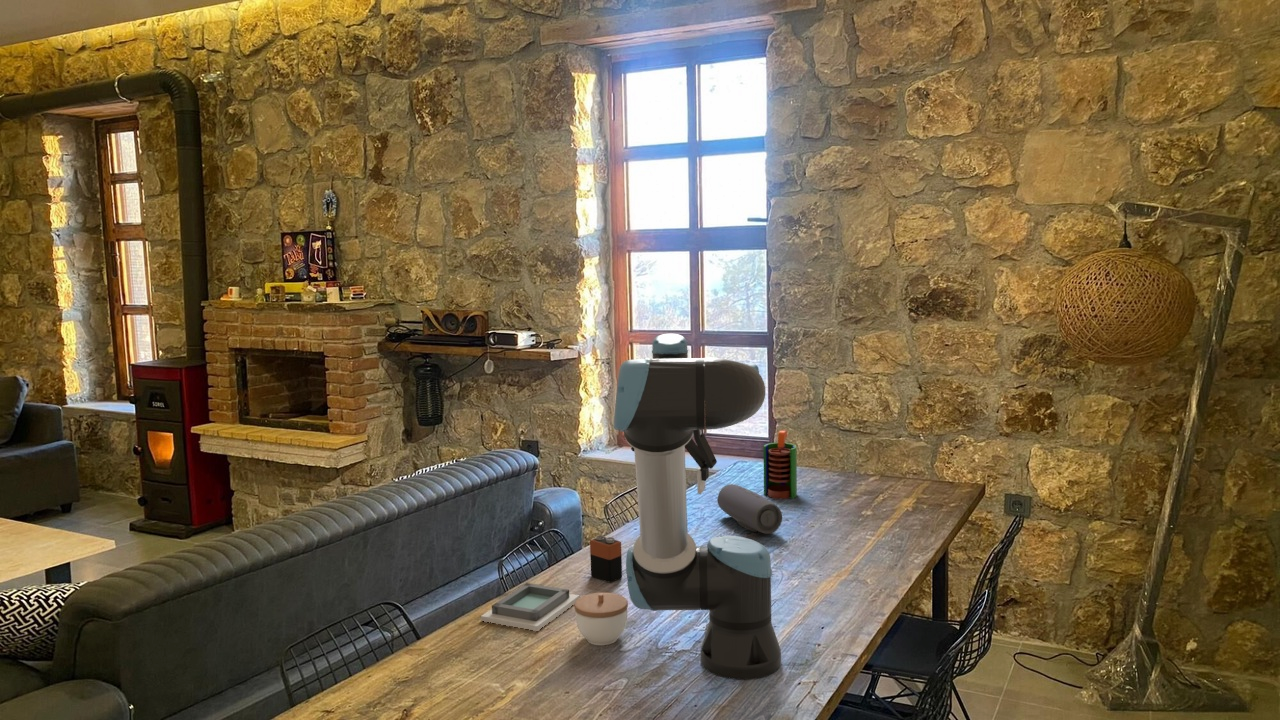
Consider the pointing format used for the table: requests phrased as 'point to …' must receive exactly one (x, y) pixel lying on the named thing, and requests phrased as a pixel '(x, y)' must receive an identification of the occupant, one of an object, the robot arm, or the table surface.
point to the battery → (606, 558)
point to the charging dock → (530, 607)
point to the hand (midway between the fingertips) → (674, 484)
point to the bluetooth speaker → (750, 509)
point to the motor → (780, 468)
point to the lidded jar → (601, 617)
